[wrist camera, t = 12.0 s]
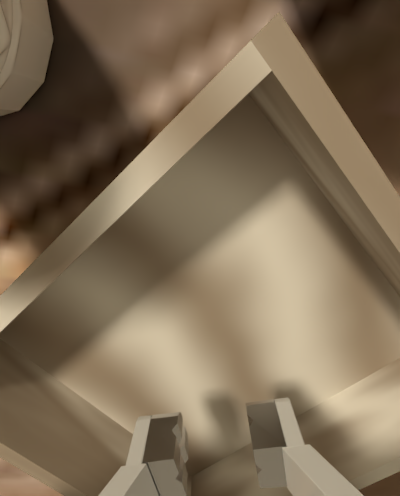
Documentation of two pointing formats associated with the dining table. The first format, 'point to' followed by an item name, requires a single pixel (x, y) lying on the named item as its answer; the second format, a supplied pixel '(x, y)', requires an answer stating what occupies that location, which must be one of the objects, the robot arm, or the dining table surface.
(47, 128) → the dining table surface
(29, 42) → the white cup
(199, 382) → the beige shallow tray
